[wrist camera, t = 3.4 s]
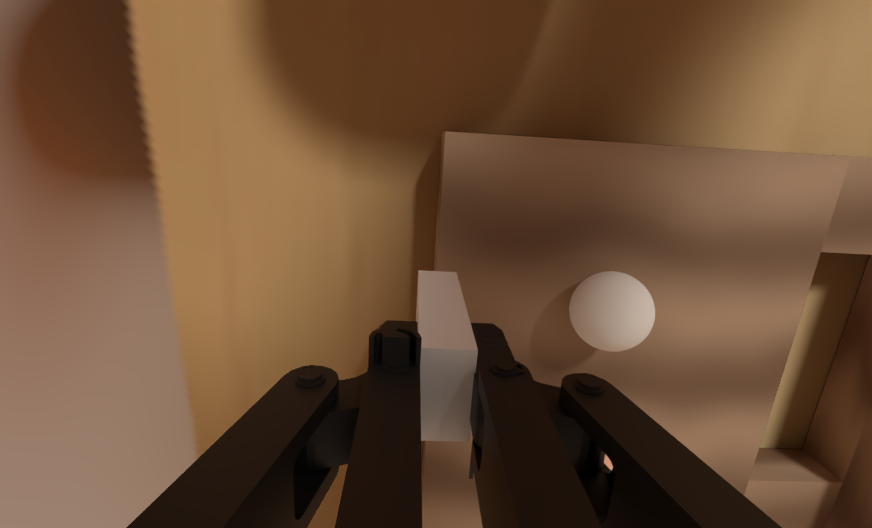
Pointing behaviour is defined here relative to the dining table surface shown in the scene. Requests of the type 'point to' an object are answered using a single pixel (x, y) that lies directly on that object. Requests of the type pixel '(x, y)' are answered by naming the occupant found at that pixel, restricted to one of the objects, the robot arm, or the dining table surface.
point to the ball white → (612, 311)
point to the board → (669, 299)
